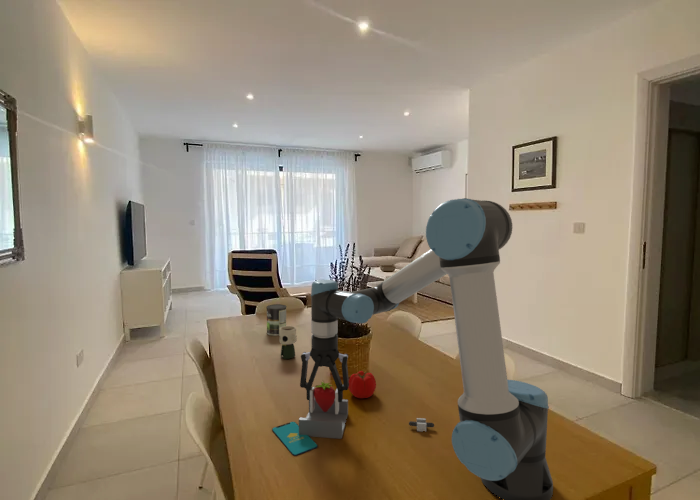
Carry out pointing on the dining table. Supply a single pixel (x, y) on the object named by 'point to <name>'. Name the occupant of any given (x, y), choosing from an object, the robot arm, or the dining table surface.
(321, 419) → the end holder
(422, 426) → the block with rod
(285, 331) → the character mug
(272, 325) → the coffee can
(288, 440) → the smartphone
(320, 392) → the strawberry
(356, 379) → the tomato
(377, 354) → the dining table surface
